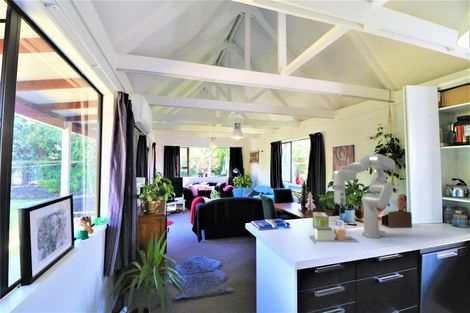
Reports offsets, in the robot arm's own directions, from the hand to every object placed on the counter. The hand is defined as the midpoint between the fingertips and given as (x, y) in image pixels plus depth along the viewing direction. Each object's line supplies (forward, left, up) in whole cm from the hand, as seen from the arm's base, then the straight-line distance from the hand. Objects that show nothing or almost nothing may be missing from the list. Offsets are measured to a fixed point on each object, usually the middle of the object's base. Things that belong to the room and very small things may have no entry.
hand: (339, 211), depth 162 cm
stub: (0, 0, -19) cm, 19 cm away
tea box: (+8, -19, -20) cm, 29 cm away
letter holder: (-63, -40, -21) cm, 77 cm away
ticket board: (+5, 0, -20) cm, 21 cm away
